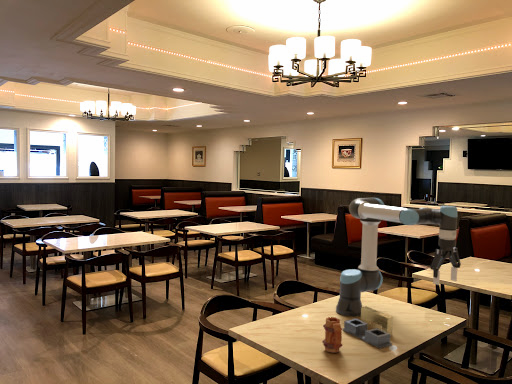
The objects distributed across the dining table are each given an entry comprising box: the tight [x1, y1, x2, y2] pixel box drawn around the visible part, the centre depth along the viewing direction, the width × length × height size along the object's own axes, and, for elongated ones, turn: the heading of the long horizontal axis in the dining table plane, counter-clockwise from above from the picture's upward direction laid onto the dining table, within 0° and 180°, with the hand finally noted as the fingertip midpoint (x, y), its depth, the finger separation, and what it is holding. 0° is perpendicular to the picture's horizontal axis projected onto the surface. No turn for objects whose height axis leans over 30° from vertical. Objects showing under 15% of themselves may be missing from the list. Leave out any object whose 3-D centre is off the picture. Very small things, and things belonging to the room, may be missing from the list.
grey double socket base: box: [342, 318, 392, 350], centre depth 200 cm, size 24×8×5 cm, turn 31°
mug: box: [321, 316, 343, 353], centre depth 182 cm, size 15×8×15 cm, turn 5°
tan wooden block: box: [360, 305, 394, 336], centre depth 210 cm, size 18×4×9 cm, turn 31°
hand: (445, 282), depth 198 cm, fingers open, 13 cm apart
